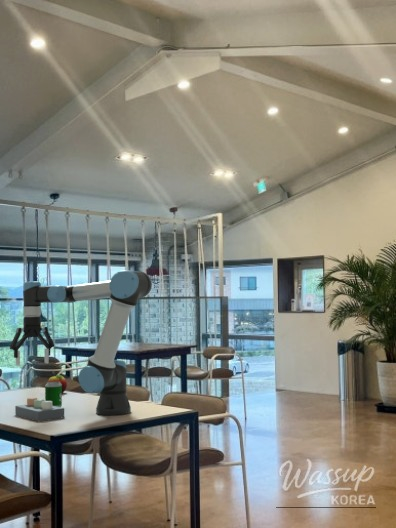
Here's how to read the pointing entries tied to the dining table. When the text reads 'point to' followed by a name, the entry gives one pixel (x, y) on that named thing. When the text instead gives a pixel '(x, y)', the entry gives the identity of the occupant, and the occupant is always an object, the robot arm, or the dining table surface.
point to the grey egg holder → (39, 413)
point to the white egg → (46, 405)
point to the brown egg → (30, 401)
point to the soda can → (54, 393)
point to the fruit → (59, 379)
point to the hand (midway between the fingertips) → (32, 364)
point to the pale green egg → (38, 403)
